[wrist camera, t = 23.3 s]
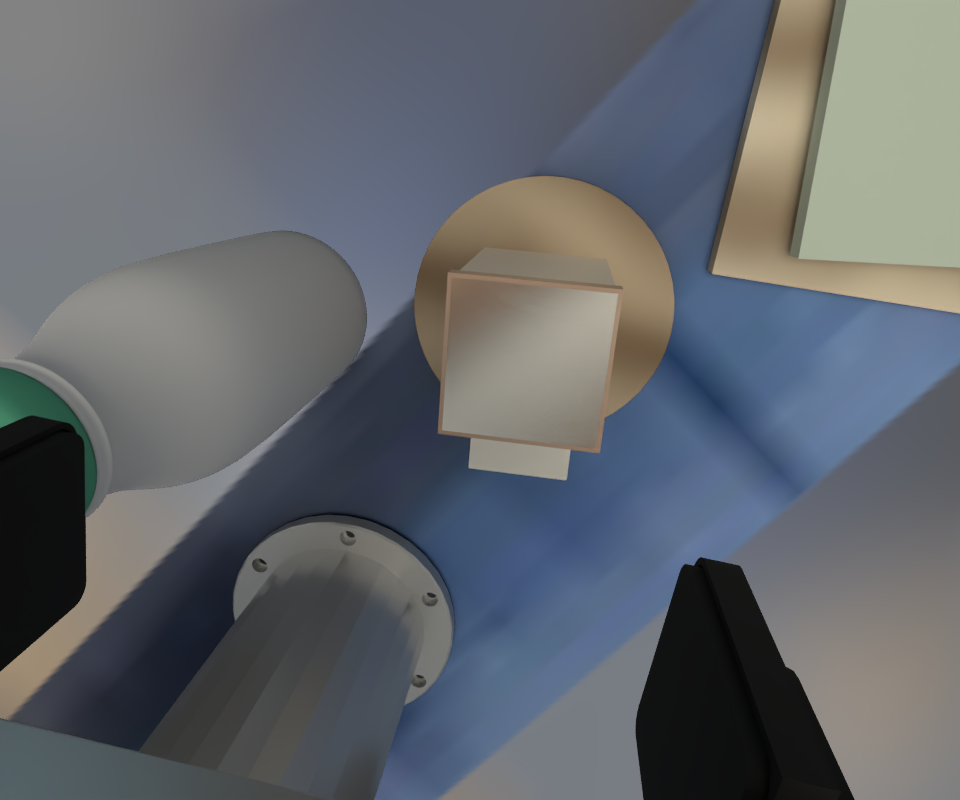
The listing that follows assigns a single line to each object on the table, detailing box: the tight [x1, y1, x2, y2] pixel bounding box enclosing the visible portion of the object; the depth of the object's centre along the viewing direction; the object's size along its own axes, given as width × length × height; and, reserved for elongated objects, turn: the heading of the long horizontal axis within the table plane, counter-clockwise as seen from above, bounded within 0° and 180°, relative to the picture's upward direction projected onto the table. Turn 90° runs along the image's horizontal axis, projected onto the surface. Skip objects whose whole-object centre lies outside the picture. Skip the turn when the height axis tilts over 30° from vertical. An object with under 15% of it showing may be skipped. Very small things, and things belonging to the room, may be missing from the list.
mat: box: [414, 176, 674, 417], centre depth 33 cm, size 12×12×1 cm
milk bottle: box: [0, 231, 367, 518], centre depth 25 cm, size 8×8×20 cm
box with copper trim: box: [438, 247, 624, 480], centre depth 28 cm, size 6×8×9 cm
